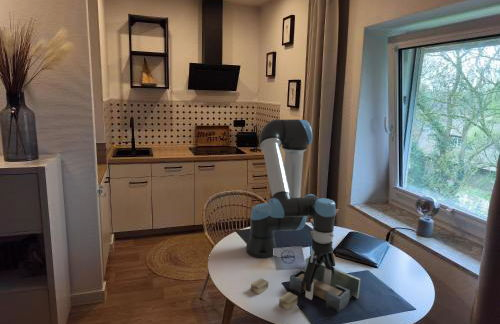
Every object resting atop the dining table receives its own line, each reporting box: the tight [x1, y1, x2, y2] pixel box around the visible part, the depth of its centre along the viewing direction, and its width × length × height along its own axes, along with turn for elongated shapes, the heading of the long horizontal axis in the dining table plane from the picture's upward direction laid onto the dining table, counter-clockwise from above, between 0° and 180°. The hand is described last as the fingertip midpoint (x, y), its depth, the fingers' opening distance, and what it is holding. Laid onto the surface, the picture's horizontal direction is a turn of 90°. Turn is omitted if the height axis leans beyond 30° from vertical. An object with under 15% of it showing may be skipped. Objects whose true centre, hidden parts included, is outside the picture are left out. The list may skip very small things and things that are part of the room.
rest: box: [250, 277, 298, 311], centre depth 135 cm, size 18×6×3 cm, turn 48°
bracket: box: [289, 257, 361, 313], centre depth 138 cm, size 24×14×8 cm, turn 48°
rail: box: [297, 274, 343, 301], centre depth 136 cm, size 18×4×4 cm, turn 48°
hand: (318, 290), depth 136 cm, fingers open, 13 cm apart
